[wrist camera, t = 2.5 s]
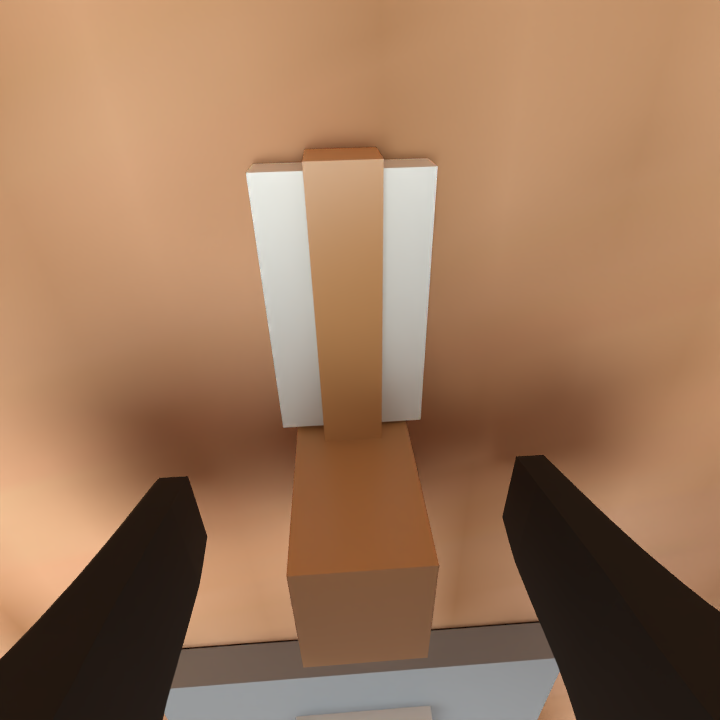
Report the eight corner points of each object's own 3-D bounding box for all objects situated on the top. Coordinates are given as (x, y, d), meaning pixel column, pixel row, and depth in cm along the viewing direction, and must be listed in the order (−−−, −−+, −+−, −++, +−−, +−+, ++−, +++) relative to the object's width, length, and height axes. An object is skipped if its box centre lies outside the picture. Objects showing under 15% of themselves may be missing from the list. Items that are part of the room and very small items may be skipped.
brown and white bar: (428, 144, 8) (515, 210, 4) (403, 600, 15) (426, 759, 12) (251, 150, 8) (187, 223, 4) (313, 607, 15) (310, 770, 12)
